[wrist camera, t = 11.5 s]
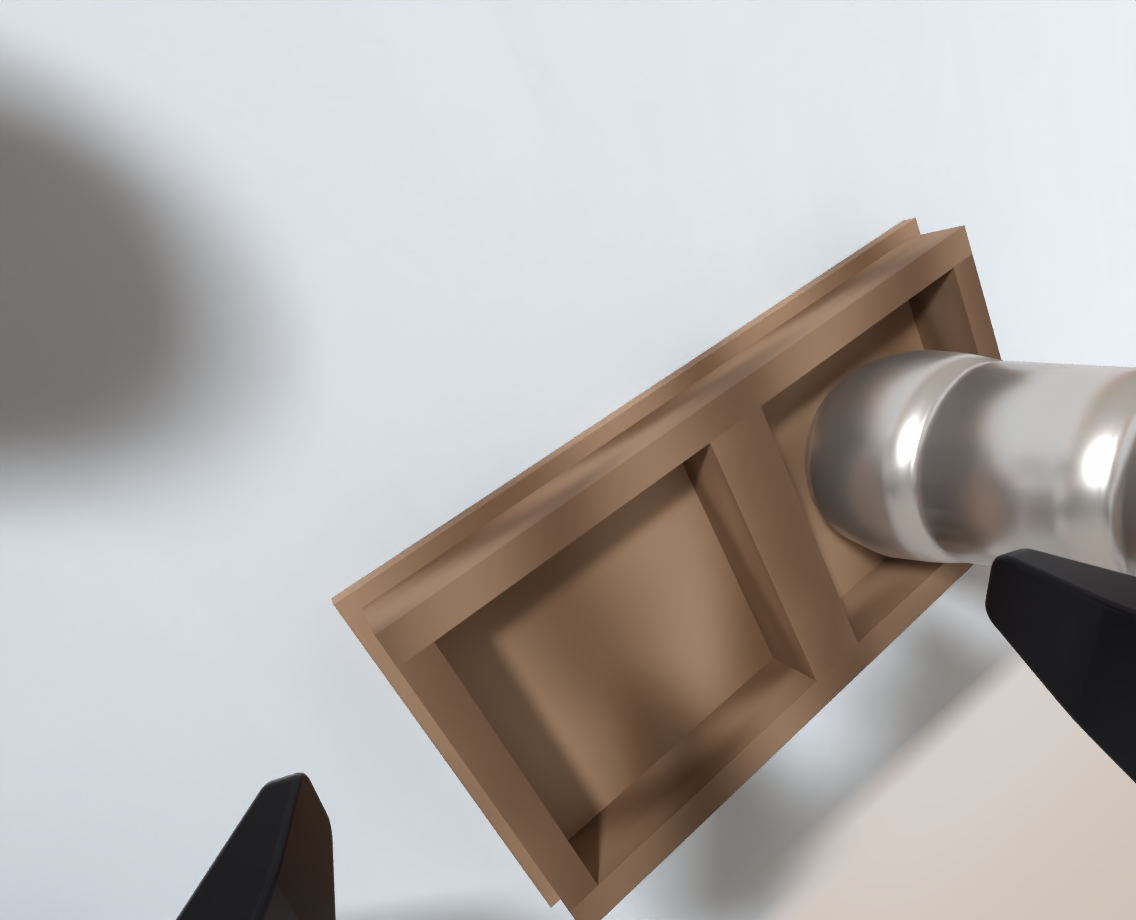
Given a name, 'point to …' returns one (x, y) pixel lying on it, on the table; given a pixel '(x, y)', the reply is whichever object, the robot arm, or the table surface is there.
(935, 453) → the silver metal bottle
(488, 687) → the wooden divided tray
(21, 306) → the table surface
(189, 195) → the table surface
